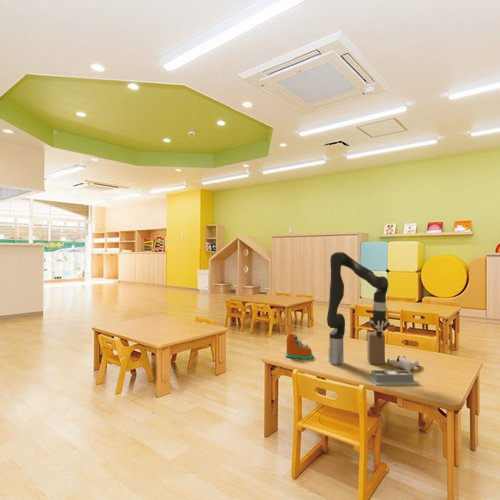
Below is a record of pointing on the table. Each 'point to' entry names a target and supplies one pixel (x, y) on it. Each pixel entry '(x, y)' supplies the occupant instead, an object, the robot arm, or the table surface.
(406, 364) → the yeti figurine
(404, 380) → the keypad board
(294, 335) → the toy shoe
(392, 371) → the key grey
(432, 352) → the table surface
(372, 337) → the wooden block
